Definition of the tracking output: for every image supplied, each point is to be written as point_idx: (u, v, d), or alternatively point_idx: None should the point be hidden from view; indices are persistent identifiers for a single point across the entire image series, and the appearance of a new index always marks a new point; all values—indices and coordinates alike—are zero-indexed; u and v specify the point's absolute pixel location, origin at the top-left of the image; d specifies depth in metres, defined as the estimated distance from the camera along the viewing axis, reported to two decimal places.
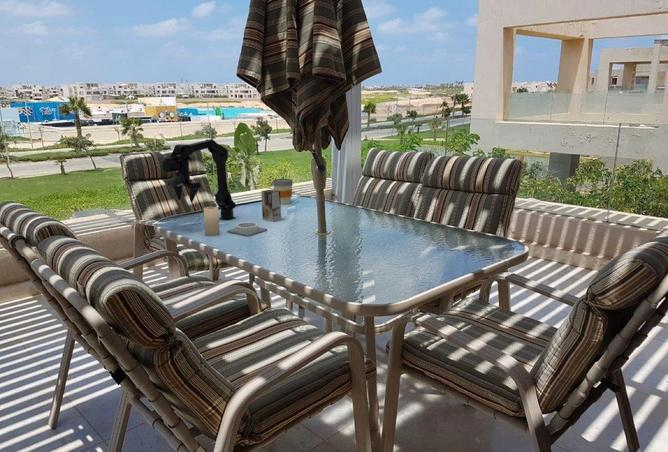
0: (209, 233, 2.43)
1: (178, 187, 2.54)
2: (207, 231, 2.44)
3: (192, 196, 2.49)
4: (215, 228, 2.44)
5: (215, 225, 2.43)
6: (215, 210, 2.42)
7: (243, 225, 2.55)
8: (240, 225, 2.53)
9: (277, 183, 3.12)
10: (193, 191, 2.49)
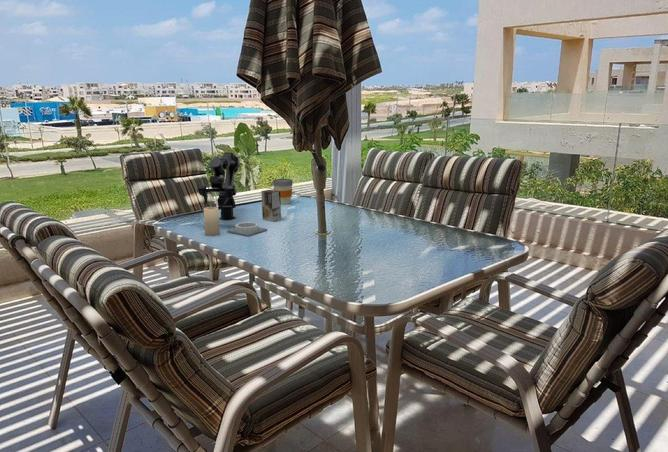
0: (209, 233, 2.43)
1: (206, 194, 2.55)
2: (207, 231, 2.44)
3: (226, 199, 2.53)
4: (215, 228, 2.44)
5: (215, 225, 2.43)
6: (215, 210, 2.42)
7: (243, 225, 2.55)
8: (240, 225, 2.53)
9: (277, 183, 3.12)
10: (227, 196, 2.55)
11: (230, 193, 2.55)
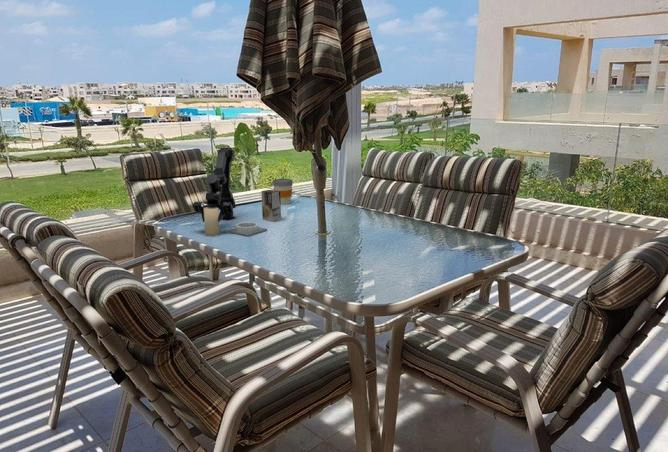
0: (209, 233, 2.43)
1: None
2: (207, 231, 2.44)
3: (221, 216, 2.45)
4: (215, 228, 2.44)
5: (215, 225, 2.43)
6: (215, 210, 2.42)
7: (243, 225, 2.55)
8: (240, 225, 2.53)
9: (277, 183, 3.12)
10: (222, 213, 2.47)
11: (225, 210, 2.47)
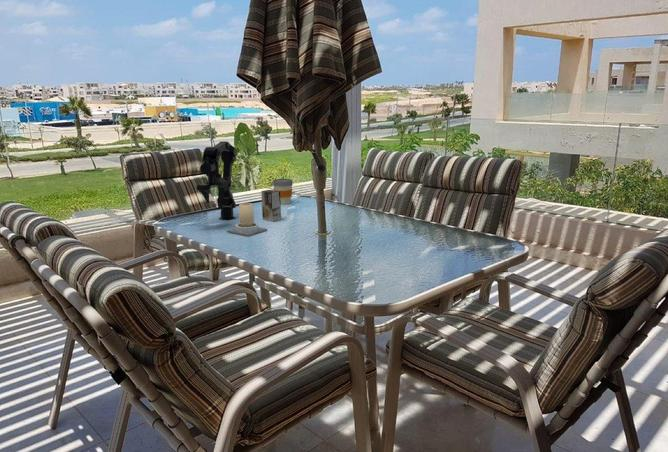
0: None
1: None
2: None
3: None
4: (253, 223, 2.50)
5: (253, 220, 2.49)
6: (252, 205, 2.48)
7: None
8: None
9: (277, 183, 3.12)
10: None
11: None
